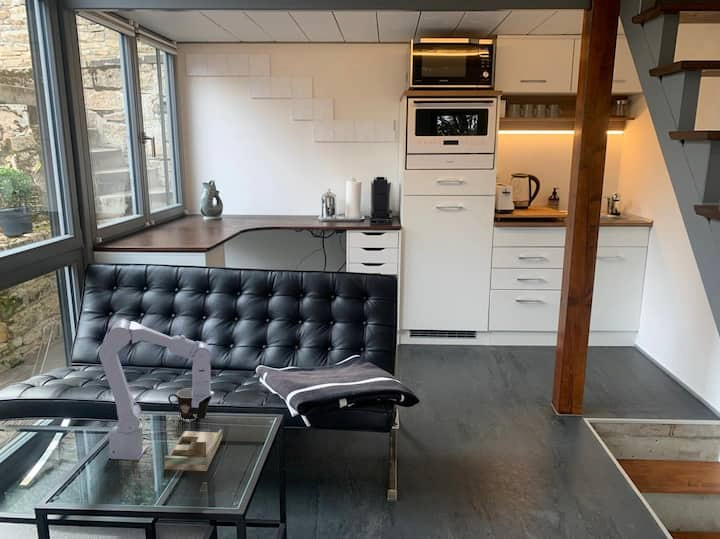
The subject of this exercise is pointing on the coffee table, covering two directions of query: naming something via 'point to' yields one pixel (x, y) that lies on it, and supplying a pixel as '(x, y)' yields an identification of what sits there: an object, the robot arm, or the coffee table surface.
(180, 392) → the coffee mug
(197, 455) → the walnut block
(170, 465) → the trap deck
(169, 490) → the coffee table surface
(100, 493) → the coffee table surface
